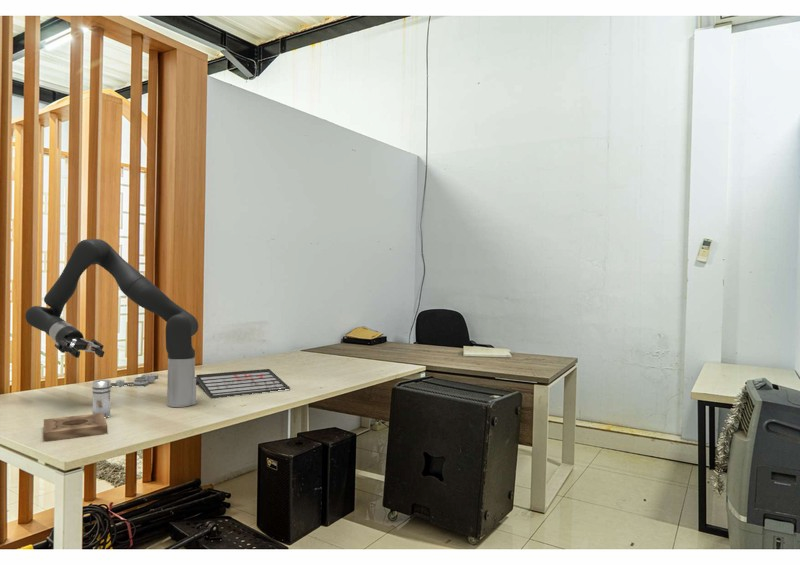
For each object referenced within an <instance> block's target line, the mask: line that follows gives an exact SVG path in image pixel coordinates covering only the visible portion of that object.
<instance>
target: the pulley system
mask: <svg viewBox="0 0 800 565" xmlns="http://www.w3.org/2000/svg"><path fill="white" fill-rule="evenodd" d="M157 378H159V374H158V373H155V374H154V373H145V374H142V375H141V376H137V377H135V378H134V381H132V382H130V381H129V382H125V380H123V379H119V380H116V381H115V382H111V388H113V387H112V386H115V387H116V386H124V385H127V386H126V387H132V386H144V387H147V386H146V385H148V386H149V383H153V382H155V381H156V380H155V379H157ZM128 384H131V385H128ZM124 387H125V386H124Z"/></svg>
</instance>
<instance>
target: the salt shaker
mask: <svg viewBox="0 0 800 565" xmlns="http://www.w3.org/2000/svg"><path fill="white" fill-rule="evenodd" d="M111 383H112V381H111V379H106V378H105V379H96V380H93V381H92V388H91V390H92V404H91V405H92V410H91V411H92V412H91V414H97V413H103V415H104V417H108V416H110V417H111V392H112V390H111V388H112V387H111V386H112V385H111ZM108 418H109V417H108Z"/></svg>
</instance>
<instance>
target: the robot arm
mask: <svg viewBox="0 0 800 565" xmlns="http://www.w3.org/2000/svg"><path fill="white" fill-rule="evenodd" d="M92 265H93V266H94V265H98V266H100V267H101V268H103V269H104V270H105V271H106V272H108V273H109V274H111V276H112V277H113V278H114V280H115V283H116V284H117V286H118V288H119V289H120V291H121V292H122V293H123V294H124V296H126V297H127V298H129V300H131V301H132V303H135V304H136V305H137V306H139V307H141V308H143V309H145V310H147V311H149V312H151V313H153V314H155V315H156V316H159V317H160V318H161V319H162V320H163V321H165V322H166V324H165V350H166V353H167V393H166V394H167V398H166V400H167V401H166V403H167V404H166V405H167V406H168V407H170V408H171V407H172V408H185V407H191V406H193V405H194V406H195V405H196V404H197V385H196V378H195V377H196V375H195V374H196V371H195V370H196V367H195V365H196V350H195V349H194V348H193V343H192V340H193V339H192V338H193V336H194V335H196V334H197V333H198V331H199V322H198V320H197V318H196V317H195V316H194V315H193V314H192V313H190V312H188V311H187V310H186V309H185V308H182V306H180V305H179V304H177V303H175V301H173V300H172V299H171V298H169V297H168V296H167V295H166V294H165V293H164V292H163V291H162V290H161V289H159V288H158V287H157V285H155V284H154V283H153V282H152V281H150V280H149V279H148V278H147V277H146V276H145V275H143V274H142V273H140V271H138V270H137V269H135V267H133V266H132V265H131V264H130V263H128V262H127V261H126V260H125V259H124V258H123V257H122V256H121V255H120V254H119V253H118V252H117V251H116V250H115V249H114V248H113V247H112V246H111V245H110V244H109V243H108V242H107V241H106V240H103V239H99V238H91V239H89V238H87V239H83V240H80V241H79V242H78V243H77V244H76V245H75V248H74V249H73V251H72V253H71V256H70V257H69V259H68V260H67V263H66V264H65V267H64V268H63V271H62V272H61V274H60V275H59V277H58V278H57V280H56V281H55V283H53V285H52V286H51V287H50V289H49V290H48V291H47V293H46V294H45V296H44V297H43V301H44V303H45V304H46V305H47V306H48V307H45V306H40V305H34V306H31V307H29V308H28V309H27V310H26V311H25V315H24V316H25V317H24V318H25V321H26V323H28V325H29V326H31V327H33V328H35V329H37V330H39V331H42V332H44V333H46V335H47V336H49V337H50V338H51V339H52V340H53V341H54V347H55V348H56V349H57V350H58V351H60V353H62V354H64V353H67V354H69V355H71V356H73V357H74V358H76V359H79V358H80V356H81V351H83V352H86V353H90V352H91V353H94V354H95V355H96V356H98V357H99V358H103V357H104V355H105V351H104V350H103V349H104V345H103V344H102V343H100V342H99V341H97V340H96V339H93V338H92V339H91V340H87V339H86V338H84V335H83V333H82V332H81V331H80V330H79V329H77V328H76V326H75V327H74V325H72V324H71V323H69V322H67V321H66V320H65V319H63V318H62V316H61V315H62V312H63V310H64V307H65V305H66V304H67V303H68V302H69V300H70V298H72V296H74V294H75V292H76V290H77V287H78V282H79V279H80V278H81V276H82V274H83V273H84V272H85V271H86V270H87V269H88V268H89V267H91V266H92Z"/></svg>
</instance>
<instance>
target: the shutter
mask: <svg viewBox="0 0 800 565" xmlns="http://www.w3.org/2000/svg"><path fill="white" fill-rule="evenodd" d="M195 378H196V386H197V385H198V386H199V385H200V386H201V388H202V389H203V390H204V392H205V393H206V394H207V396H208V397H209V398H210V399H219V397H221V398H228V397H227V396H230V397H235V396H234V395H240V396H243V395H242V394H249V395H253V394H252V393H259V394H263V393H262V392H268V393H271V392H270V391H278V390H285V389H290V390H291V387H290V386H289V385H288V384H287V383H286V382H284V381H283V380H282V379H281V378H280V377H279V376H278V375H277V374H276V373H274V372H273V371H272V370H271V369H270V368H265V369H263V368H262V369H252V370H239V371H228V372H213V373H202V374H201V373H200V374H196V375H195ZM279 388H281V389H279ZM278 392H279V391H278Z"/></svg>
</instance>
